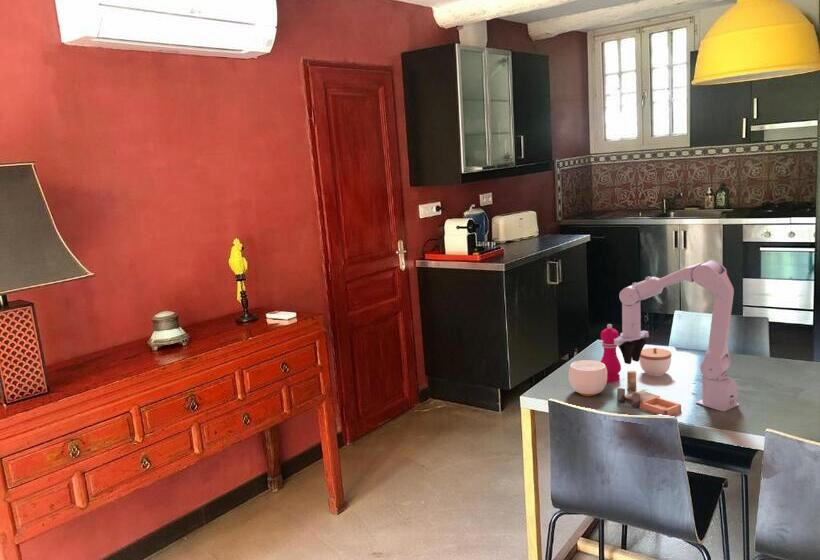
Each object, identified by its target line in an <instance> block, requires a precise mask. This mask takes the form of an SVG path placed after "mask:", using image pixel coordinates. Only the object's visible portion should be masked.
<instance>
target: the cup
mask: <svg viewBox="0 0 820 560" xmlns="http://www.w3.org/2000/svg"><path fill="white" fill-rule="evenodd" d="M568 381H569V383H570V385H571V388H573V390H574V391H575V392H576V393H579V394H580V395H581V396H584V397H594V396H596V395H598V394H599V393H601V392H603V391H604V389H605V387H606V386H607V385H606V384H607V383H608V382H607V369H606V366H605V364H604V363H602V362H601V361H598V360H594V359H593V360H592V359H591V360H589V359H586V360H585V359H582V360H576V361H573V362H571V364H570V365H569V369H568Z"/></svg>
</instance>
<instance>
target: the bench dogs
mask: <svg viewBox="0 0 820 560" xmlns="http://www.w3.org/2000/svg"><path fill="white" fill-rule="evenodd" d="M632 393H633V394H632ZM632 393H631V394H632V403H631V405H632V408H633V407H634V409H640V402H641V395H640V394H639V393H635V392H632ZM625 396H626V389H625V388H622V387H620V388H617V389H616V402H617V403H620V404H623V403H626V401H625Z"/></svg>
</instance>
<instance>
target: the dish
mask: <svg viewBox="0 0 820 560" xmlns="http://www.w3.org/2000/svg"><path fill="white" fill-rule="evenodd" d="M639 410H642V411H645V412H647V411H648V412H647V413H650V414H654V415H656V414H662V415H671V416H674V415H676V414H679V413H681V412H682V404H680V403H677V402H674V401H670V400H668V399H665V398H661V397H660V396H659V397H653V398H650V399H647V400H645V401H642V402H640V408H639Z"/></svg>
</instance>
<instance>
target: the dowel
mask: <svg viewBox="0 0 820 560" xmlns="http://www.w3.org/2000/svg"><path fill="white" fill-rule="evenodd" d="M626 375H627V377H626V378H627V381H626V382H627V383H626V384H627V387H626V388H627V391H630V390H631V392H635V391H637V371H635V370H627V373H626ZM634 390H635V391H634Z"/></svg>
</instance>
